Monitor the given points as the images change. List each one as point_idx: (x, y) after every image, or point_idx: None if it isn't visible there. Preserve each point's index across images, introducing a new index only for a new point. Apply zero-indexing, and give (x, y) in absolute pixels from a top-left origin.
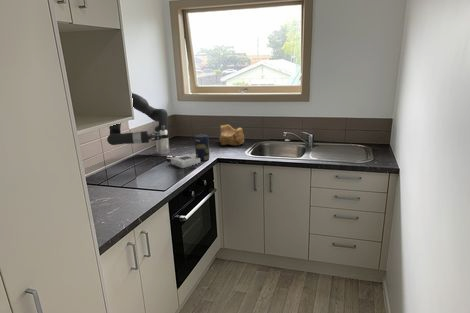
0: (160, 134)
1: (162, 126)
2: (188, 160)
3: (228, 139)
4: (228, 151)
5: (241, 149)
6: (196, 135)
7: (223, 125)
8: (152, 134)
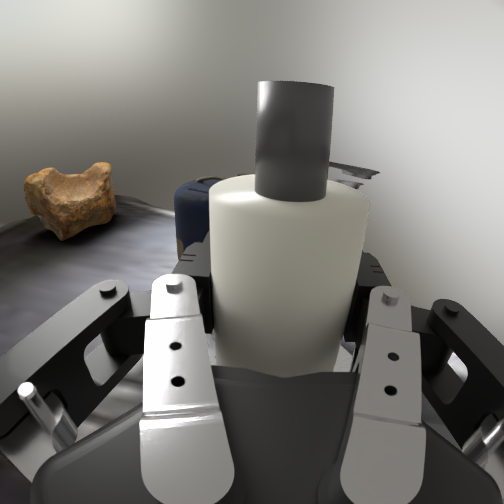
0: (332, 298)
1: (332, 95)
2: (340, 348)
3: (94, 208)
4: (156, 241)
5: (160, 221)
6: (197, 193)
7: (38, 173)
8: (418, 457)
